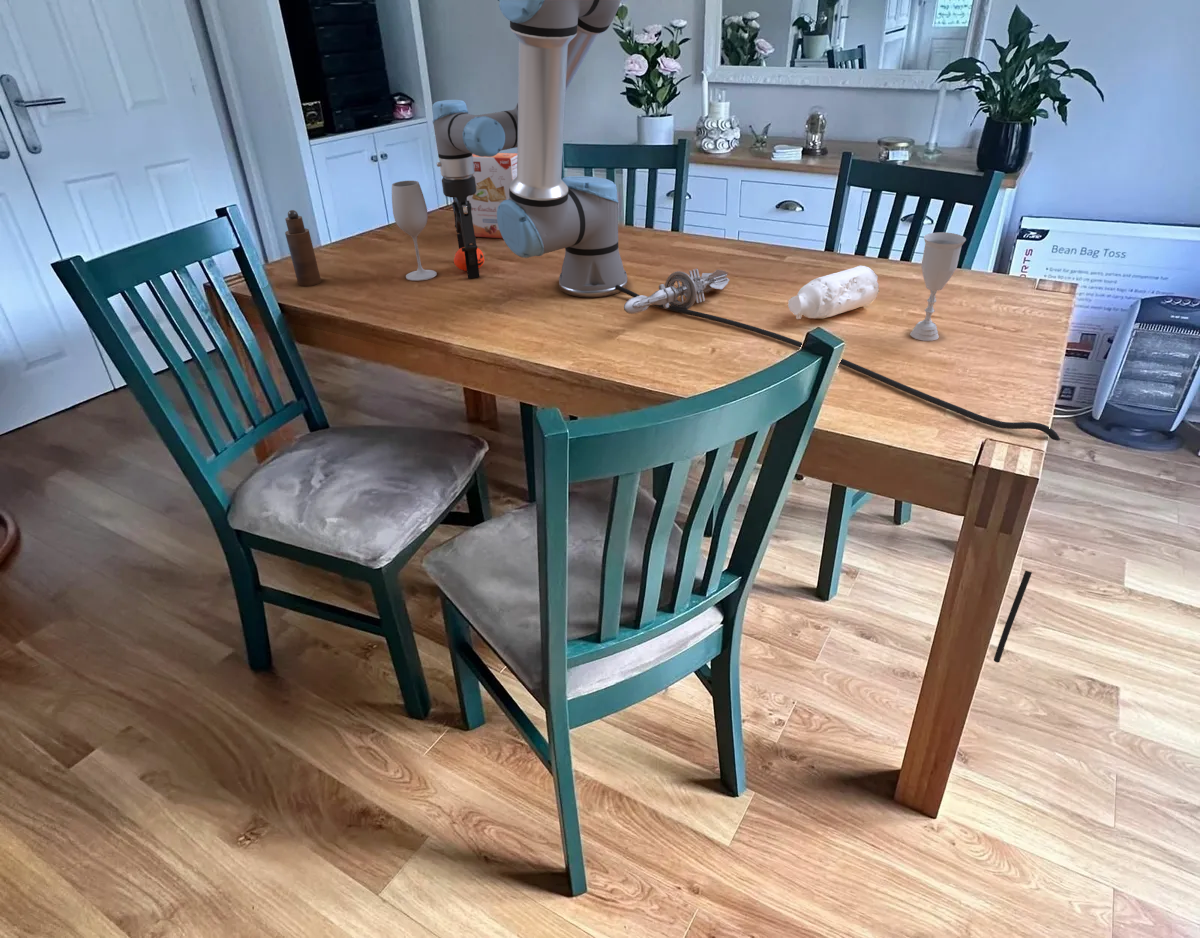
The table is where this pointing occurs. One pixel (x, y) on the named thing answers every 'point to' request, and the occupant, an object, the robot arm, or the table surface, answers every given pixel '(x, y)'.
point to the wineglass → (411, 219)
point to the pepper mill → (301, 251)
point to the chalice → (937, 275)
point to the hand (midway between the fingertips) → (469, 268)
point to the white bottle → (835, 293)
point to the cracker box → (491, 191)
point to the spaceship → (679, 291)
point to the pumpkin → (461, 261)
